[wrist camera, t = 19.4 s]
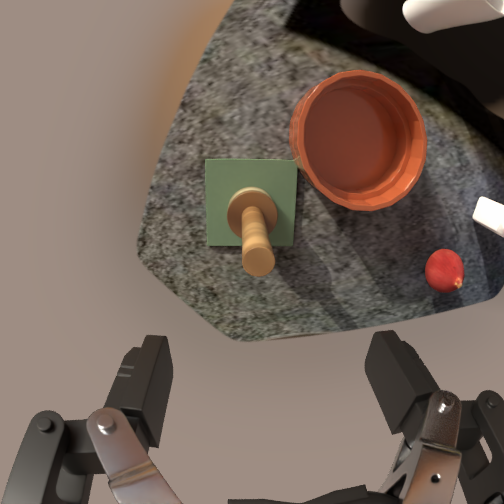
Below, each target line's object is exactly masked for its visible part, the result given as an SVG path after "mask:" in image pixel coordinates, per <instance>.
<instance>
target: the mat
mask: <svg viewBox="0 0 504 504" xmlns="http://www.w3.org/2000/svg"><path fill="white" fill-rule="evenodd" d="M297 169H298V167H297V166H296V164H295V162H294V160H273V159H205V176H206V222H207V246H242V238H240V237H238V236H237V235H235V234H234V233H233V232H232V230H231V229H230V227H229V225H228V222H227V211H228V205H229V202H230V199H231V198H232V196H233V195H234V194H235V193H236V192H237V191H239V190H240V189H242V188H245V187H258V188H261V189H263V190H265V191H266V192H267V193H268V194H269V195H270V196H271V198H272V199H273V201H274V204H275V206H276V208H277V212H278V220H277V224H276V226H275V228H274V229H273V231H272V232H271V233H270V234H269V238H270V242H271V246H293V236H294V222H295V206H296V189H297Z"/></svg>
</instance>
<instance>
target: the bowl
mask: <svg viewBox="0 0 504 504" xmlns="http://www.w3.org/2000/svg"><path fill="white" fill-rule="evenodd" d="M289 143H290V144H289V145H290V148H291V152H292V155H293V159H294V162H295V164H296V166H297V167H298V169H299V171H300V172H301V174H302V175H303V177H304V178H305V180H306V181H307V182H309V183H310V184H311V185H312V186H314V187H315V188H316V189H317V190H318V191H320V192H321V193H322V194H323V195H325V196H326V197H327V198H329V199H330V200H331V201H332V202H334V203H336V204H339V205H341V206H344V207H346V208H349V209H351V210H360V211H375V210H378V209H382V208H385V207H388V206H392V205H393V204H394V203H396V202H397V201H399V200H400V199H402V198H403V197H404V196H406V195H407V194H408V193H409V191H410V190H411V189H412V187H413V186H414V185H415V183H416V182H417V181H418V179H419V177H420V174H421V172H422V169H423V166H424V164H425V160H426V150H427V136H426V131H425V126H424V121H423V118H422V116H421V114H420V112H419V110H418V108H417V106H416V104H415V102H414V101H413V99H412V98H411V97H410V96H409V95H408V94H407V93H406V92H405V91H404V90H403V89H402V87H401V86H400V85H398V84H397V83H395V82H393V81H392V80H390V79H388V78H387V77H385V76H383V75H381V74H378V73H373V72H369V71H364V70H355V71H347V72H340V73H338V74H336V75H334V76H332V77H330V78H328V79H327V80H325V81H323V82H321V83H320V84H318V85H316V86H314V87H313V88H311V89H310V90H308V92H307V93H306V94H305V95H304V96H303V98H302V99H301V100H300V101H299V102H298V104H297V105H296V108H295V110H294V113H293V116H292V118H291V121H290V131H289Z"/></svg>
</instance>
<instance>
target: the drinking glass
mask: <svg viewBox="0 0 504 504" xmlns="http://www.w3.org/2000/svg"><path fill="white" fill-rule="evenodd" d="M403 14H404V17H405V19H406V20H407V22H408V23H409V24H410V25H411V26H412V27H413V28H414V29H416V30H417V31H419V32H421V33H426V34H428V33H432V32H435V31H438V30H442V29H447V28H451V27H457V26H463V25H468V24H475V23H481V22H486V21H490V20H494V19H498V18H501V17H504V0H407V1H406V2H405V3H404V5H403Z"/></svg>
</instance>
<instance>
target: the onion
mask: <svg viewBox="0 0 504 504" xmlns="http://www.w3.org/2000/svg"><path fill="white" fill-rule="evenodd" d="M425 277H426V280H427V282H428V284H429V286H430V287H432V288H433V289H435V290H436V291H438V292H443V293H449V292H452V291H454V290H456V289H457V288H460V287H461V286H462V282H463V279H464V267H463V263H462V260H461V258H460V257H459V256H458V255H457V254H456V253H455V252H453V251H452V250H449V249H440V250H437V251H435V252H434V253H433V254H432V255H431V256H430V257H429V258H428V260H427V263H426V266H425Z"/></svg>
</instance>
